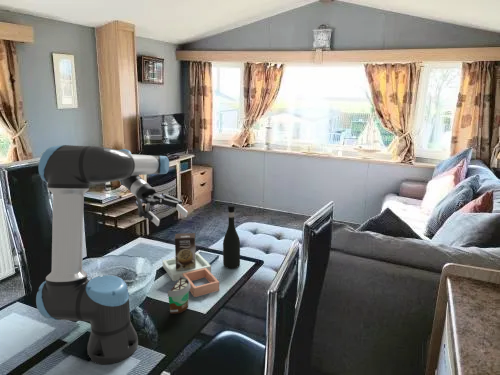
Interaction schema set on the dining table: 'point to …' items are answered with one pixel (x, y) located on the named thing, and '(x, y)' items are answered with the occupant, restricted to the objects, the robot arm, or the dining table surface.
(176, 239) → the coffee box
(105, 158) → the robot arm
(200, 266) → the tray
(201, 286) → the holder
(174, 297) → the food container
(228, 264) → the wine bottle
